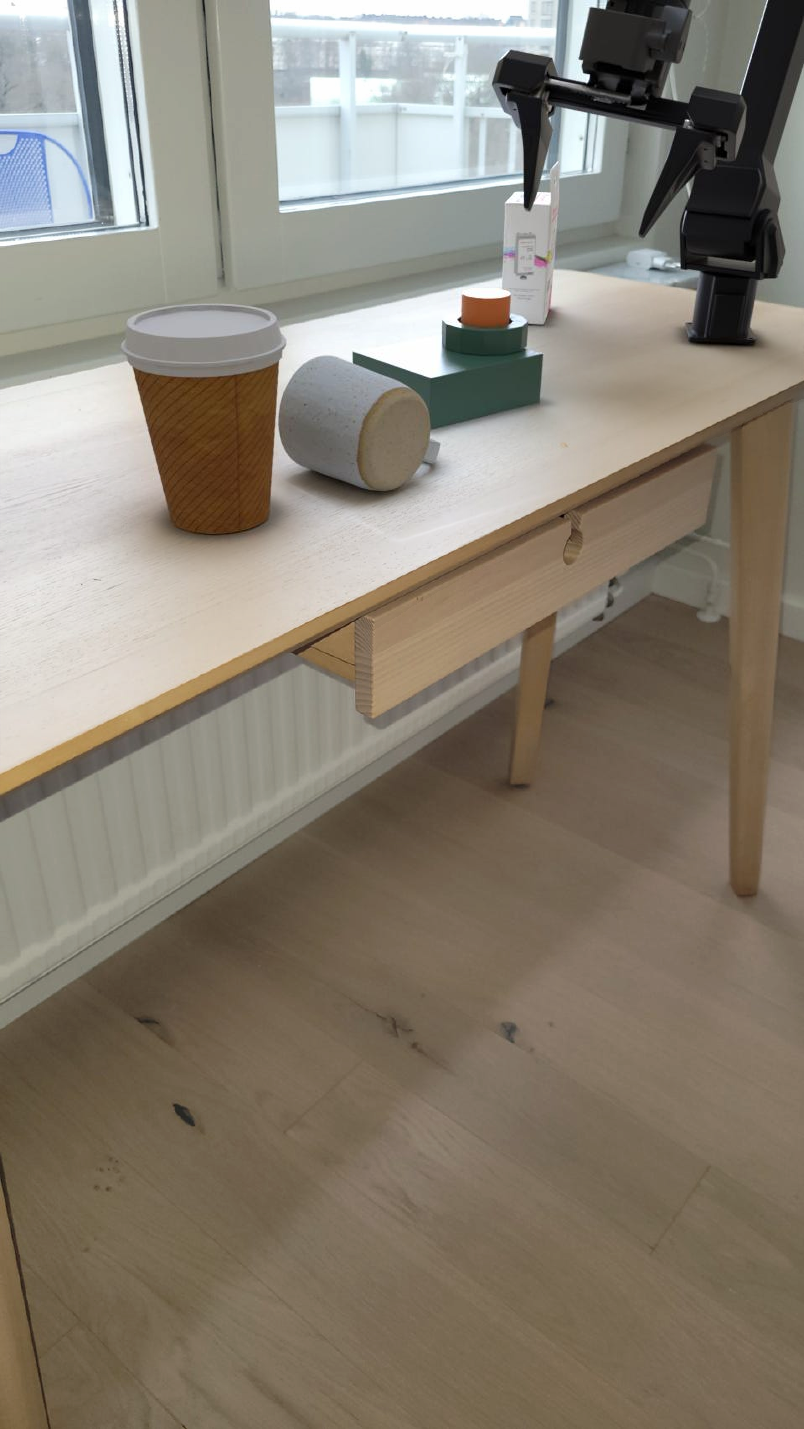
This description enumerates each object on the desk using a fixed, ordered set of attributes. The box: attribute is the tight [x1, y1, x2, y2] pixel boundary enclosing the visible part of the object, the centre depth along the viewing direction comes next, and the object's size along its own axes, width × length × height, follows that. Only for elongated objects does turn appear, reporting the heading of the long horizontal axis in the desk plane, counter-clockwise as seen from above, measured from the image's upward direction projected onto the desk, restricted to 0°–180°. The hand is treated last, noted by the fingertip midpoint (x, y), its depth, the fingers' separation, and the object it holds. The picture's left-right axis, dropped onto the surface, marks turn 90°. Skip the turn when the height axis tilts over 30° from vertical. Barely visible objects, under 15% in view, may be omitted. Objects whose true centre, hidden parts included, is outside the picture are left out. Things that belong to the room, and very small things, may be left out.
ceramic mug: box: [277, 354, 441, 492], centre depth 72 cm, size 11×8×8 cm
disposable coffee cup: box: [120, 303, 287, 535], centre depth 65 cm, size 10×10×12 cm
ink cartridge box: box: [501, 160, 560, 325], centre depth 112 cm, size 9×5×15 cm, turn 168°
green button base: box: [351, 311, 544, 430], centre depth 88 cm, size 14×10×6 cm
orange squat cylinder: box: [460, 287, 511, 327], centre depth 88 cm, size 4×4×2 cm
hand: (583, 223), depth 82 cm, fingers open, 9 cm apart
